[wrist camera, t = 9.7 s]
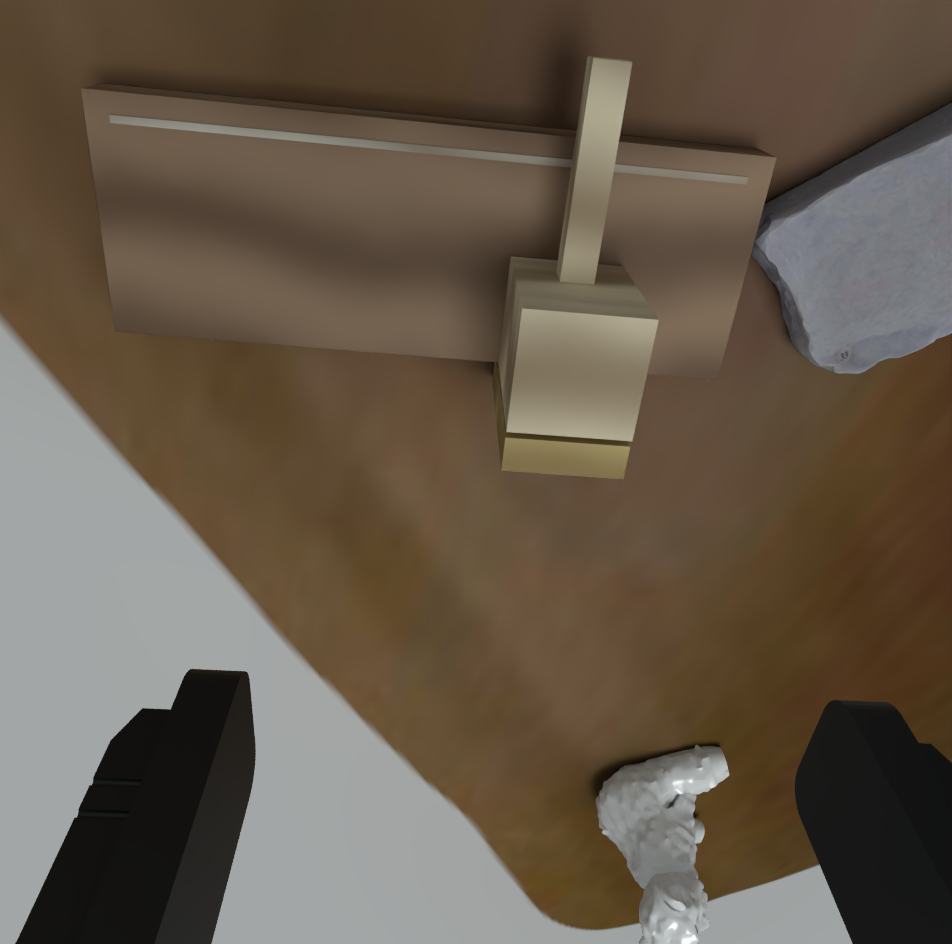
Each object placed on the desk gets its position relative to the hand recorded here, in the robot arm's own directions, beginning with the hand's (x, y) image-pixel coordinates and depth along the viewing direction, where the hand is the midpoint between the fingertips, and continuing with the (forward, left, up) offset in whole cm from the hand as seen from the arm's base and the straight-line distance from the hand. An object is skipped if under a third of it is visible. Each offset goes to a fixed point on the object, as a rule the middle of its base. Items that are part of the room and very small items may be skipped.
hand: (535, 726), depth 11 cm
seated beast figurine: (+37, +16, -29) cm, 50 cm away
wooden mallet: (0, +4, -29) cm, 29 cm away
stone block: (-1, +19, -30) cm, 35 cm away
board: (0, -2, -29) cm, 29 cm away
